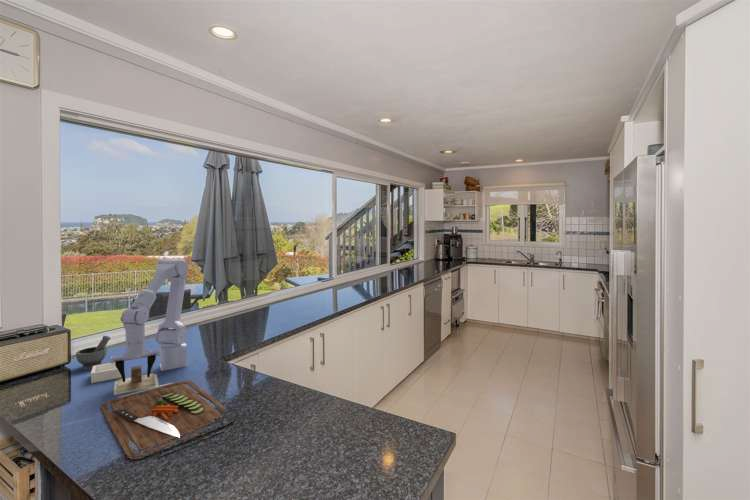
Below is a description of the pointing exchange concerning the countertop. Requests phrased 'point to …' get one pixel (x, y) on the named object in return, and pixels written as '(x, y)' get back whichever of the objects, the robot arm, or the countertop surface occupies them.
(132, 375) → the birch lid
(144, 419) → the chopping board
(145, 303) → the robot arm
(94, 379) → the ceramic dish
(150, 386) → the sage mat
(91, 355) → the mortar and pestle
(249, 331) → the countertop surface
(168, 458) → the countertop surface
